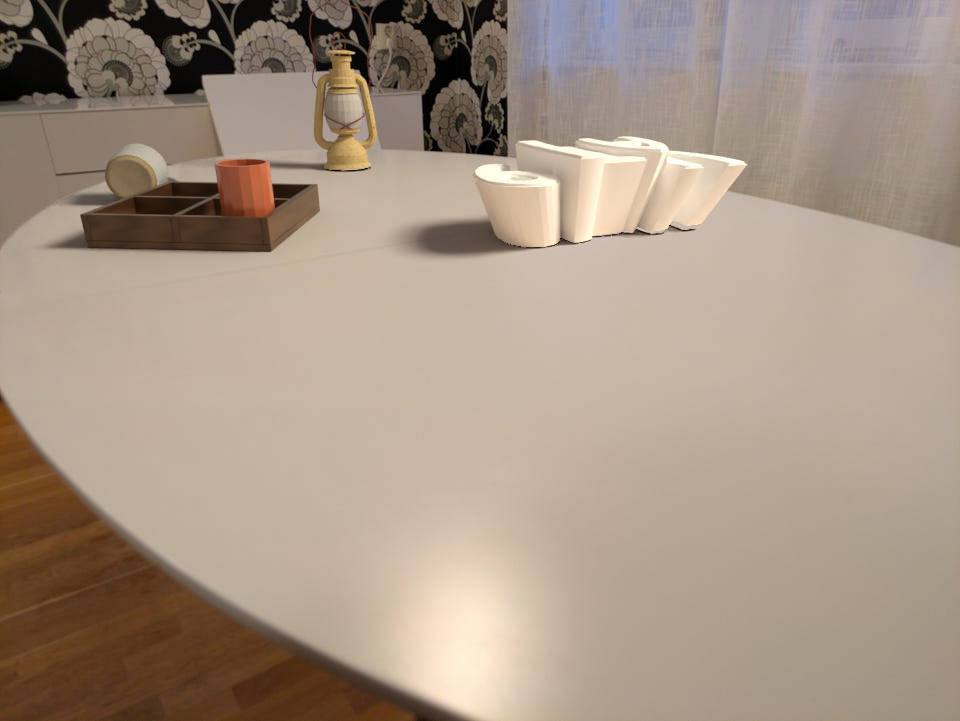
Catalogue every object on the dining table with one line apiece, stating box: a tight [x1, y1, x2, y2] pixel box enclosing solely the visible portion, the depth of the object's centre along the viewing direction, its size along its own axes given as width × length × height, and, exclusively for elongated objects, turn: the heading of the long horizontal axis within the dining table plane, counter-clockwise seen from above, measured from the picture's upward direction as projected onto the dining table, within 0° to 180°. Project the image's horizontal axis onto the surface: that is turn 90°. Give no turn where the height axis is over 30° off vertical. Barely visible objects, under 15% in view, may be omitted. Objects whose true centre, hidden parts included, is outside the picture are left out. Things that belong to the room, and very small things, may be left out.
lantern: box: [308, 0, 378, 170], centre depth 125 cm, size 12×10×30 cm
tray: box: [79, 181, 321, 252], centre depth 86 cm, size 21×21×4 cm
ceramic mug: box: [104, 143, 182, 200], centre depth 101 cm, size 11×8×8 cm
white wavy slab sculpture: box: [472, 136, 748, 248], centre depth 85 cm, size 35×16×11 cm, turn 111°
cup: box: [214, 158, 275, 217], centre depth 79 cm, size 6×6×8 cm
